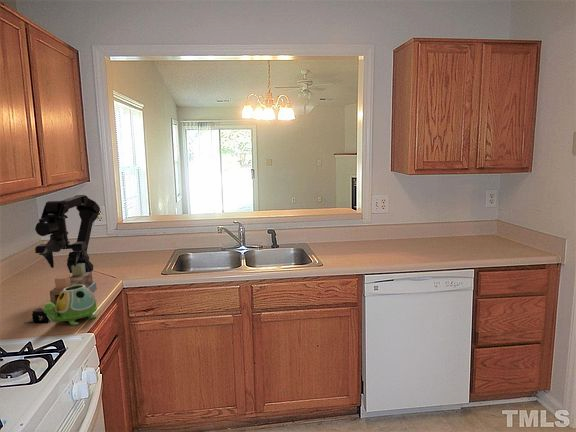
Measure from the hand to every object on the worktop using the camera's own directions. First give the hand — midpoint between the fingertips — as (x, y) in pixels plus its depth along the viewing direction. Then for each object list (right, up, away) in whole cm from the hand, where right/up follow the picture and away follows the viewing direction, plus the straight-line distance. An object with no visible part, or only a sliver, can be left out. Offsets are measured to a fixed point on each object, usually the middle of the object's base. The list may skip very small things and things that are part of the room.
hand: (63, 267), depth 180 cm
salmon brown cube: (+7, -6, -14) cm, 17 cm away
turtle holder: (+18, -16, -26) cm, 35 cm away
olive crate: (+5, -3, +3) cm, 7 cm away
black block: (+5, -17, -25) cm, 30 cm away
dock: (+7, -13, -5) cm, 16 cm away
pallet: (+7, -10, -6) cm, 13 cm away
